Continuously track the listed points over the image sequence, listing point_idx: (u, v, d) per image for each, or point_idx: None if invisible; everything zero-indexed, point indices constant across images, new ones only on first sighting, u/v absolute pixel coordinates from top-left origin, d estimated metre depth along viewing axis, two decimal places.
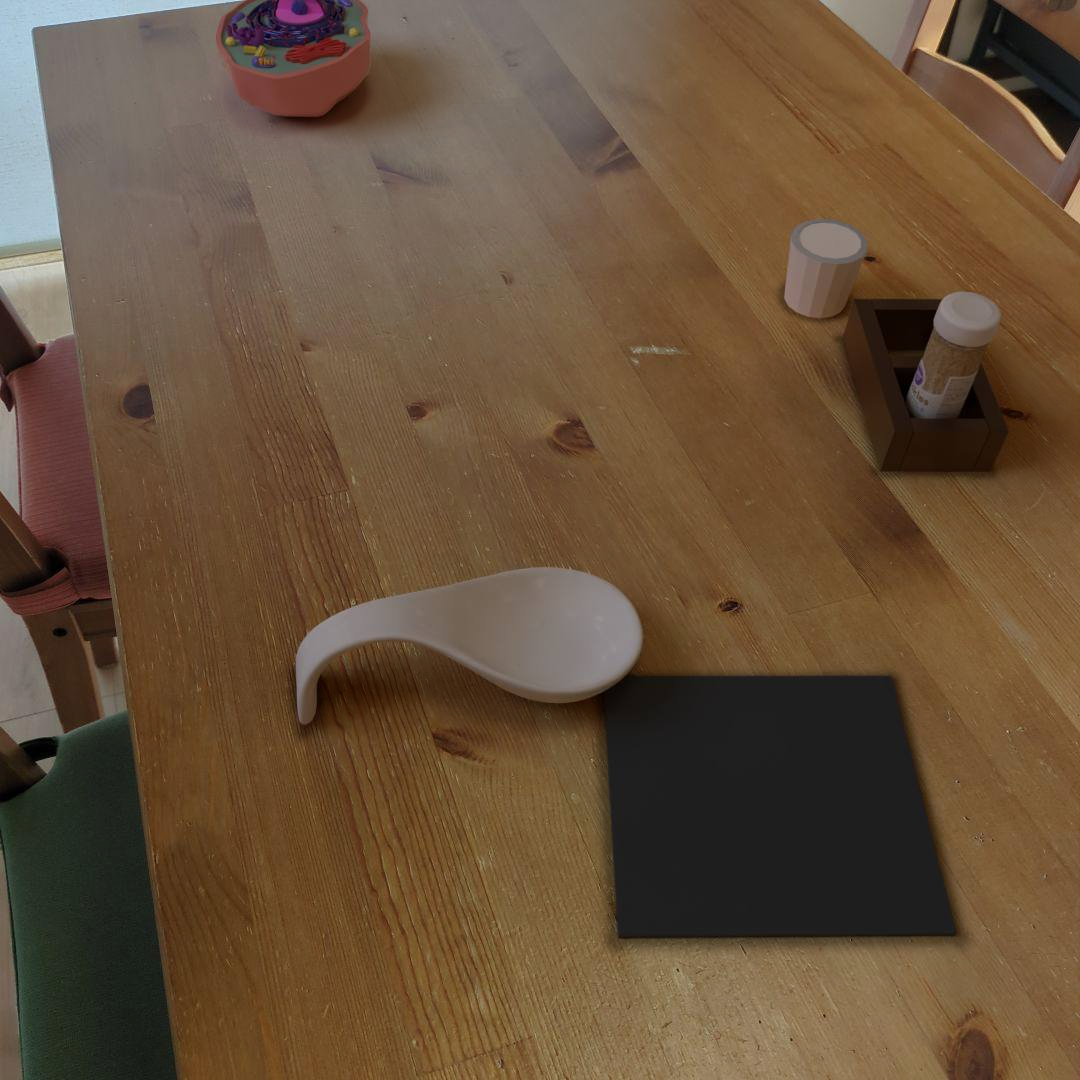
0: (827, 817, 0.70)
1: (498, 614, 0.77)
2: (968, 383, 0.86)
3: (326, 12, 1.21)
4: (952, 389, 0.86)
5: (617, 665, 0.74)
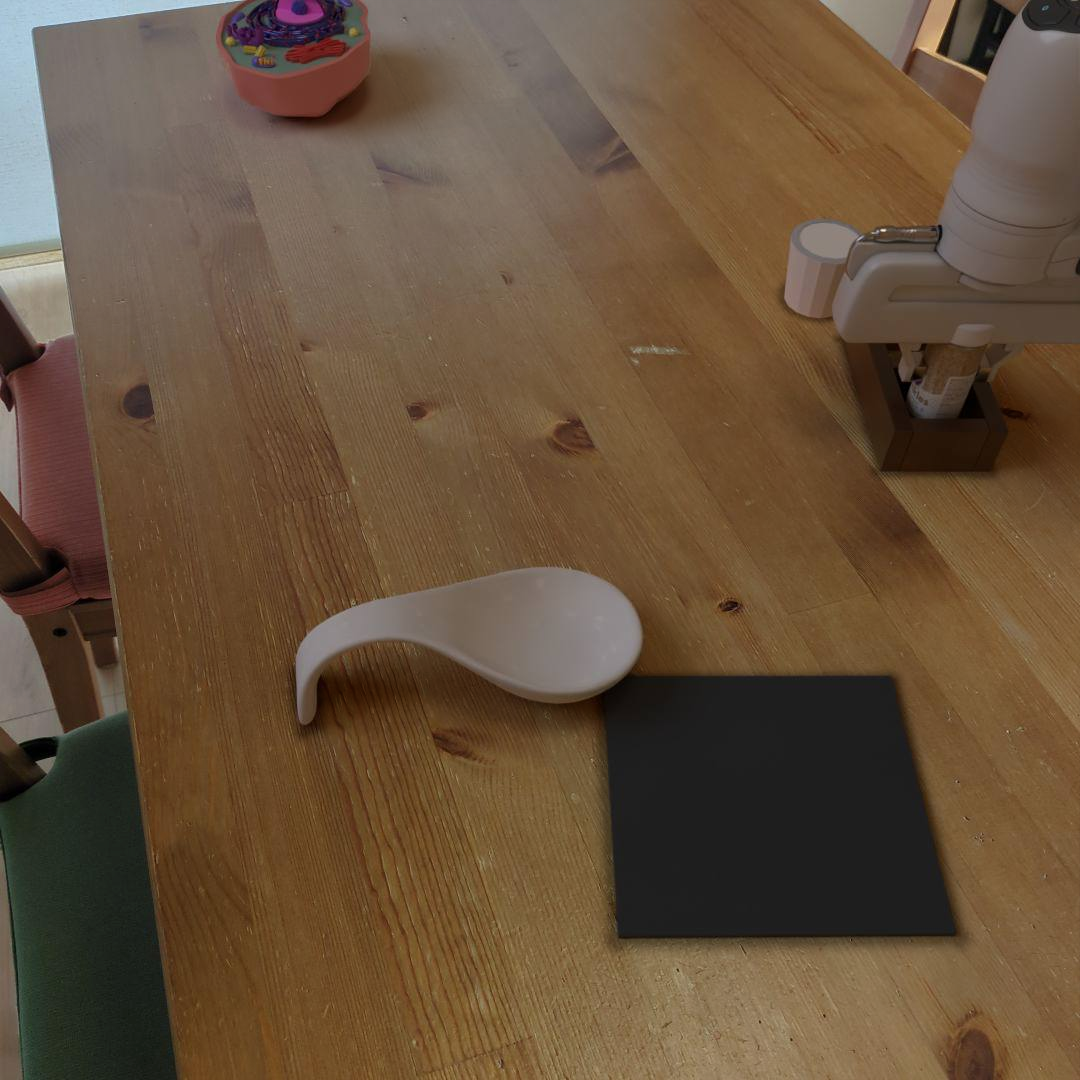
0: (827, 817, 0.70)
1: (498, 614, 0.77)
2: (968, 383, 0.86)
3: (326, 12, 1.21)
4: (952, 389, 0.86)
5: (617, 665, 0.74)
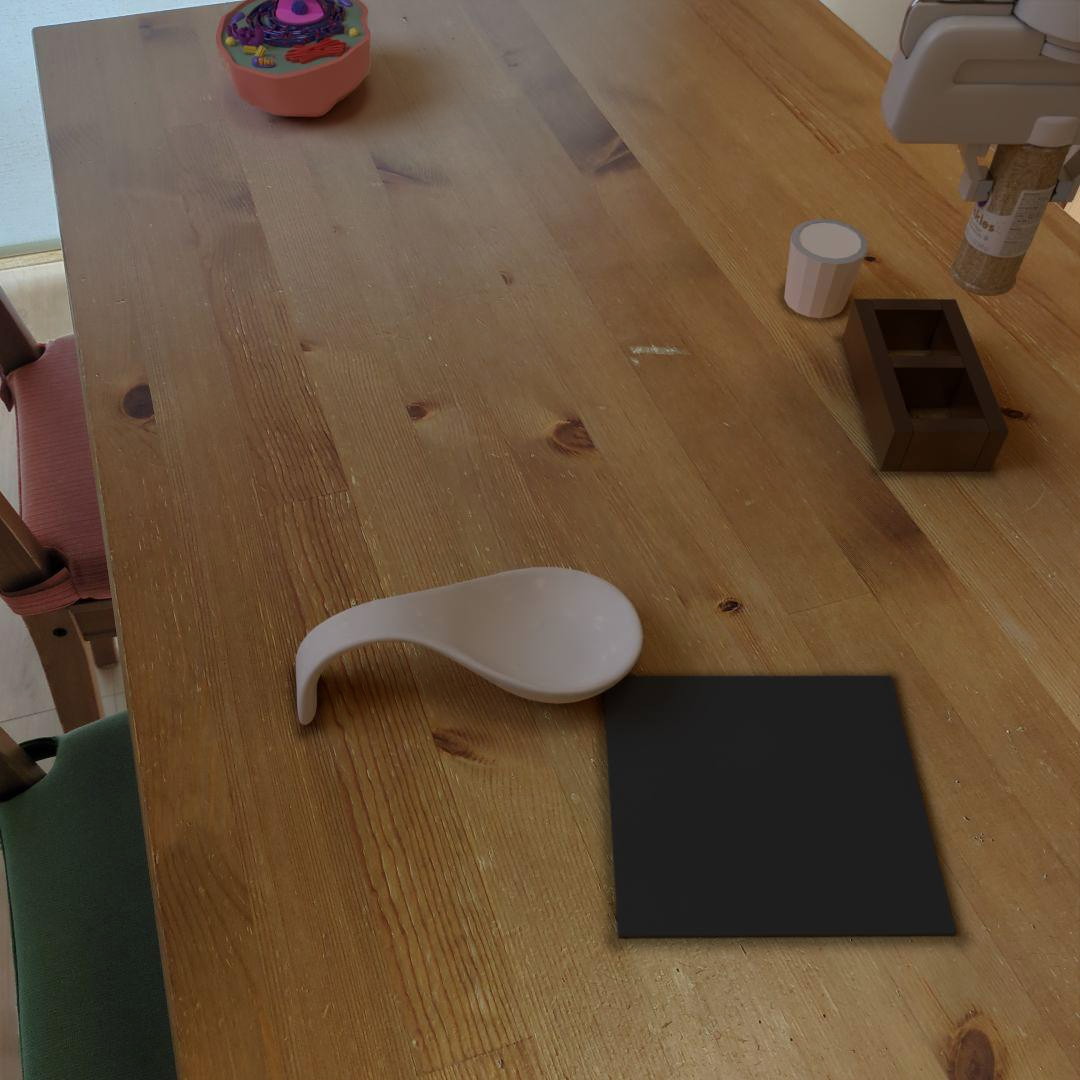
0: (827, 817, 0.70)
1: (498, 614, 0.77)
2: (1044, 200, 0.71)
3: (326, 12, 1.21)
4: (1025, 207, 0.71)
5: (617, 665, 0.74)
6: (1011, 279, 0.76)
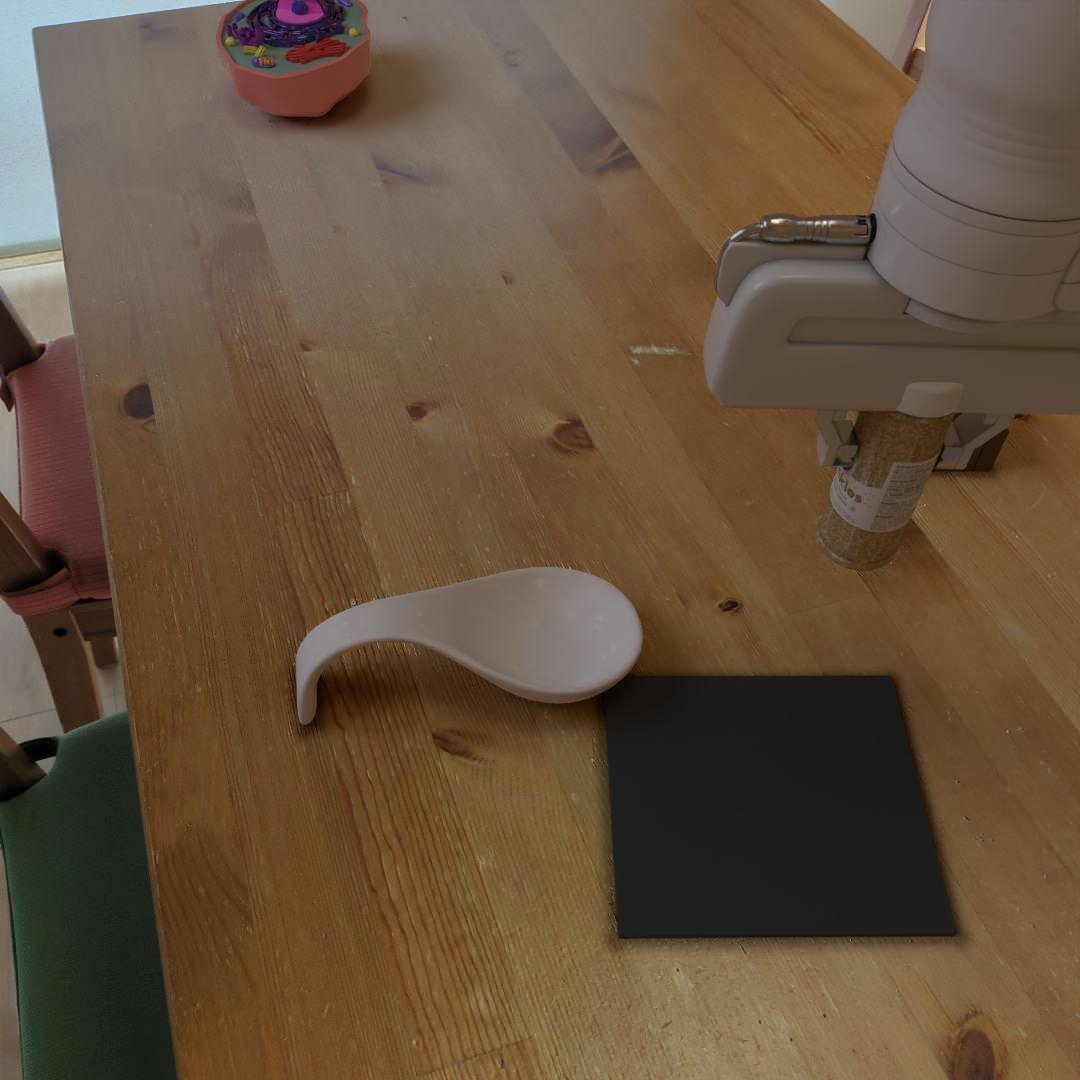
0: (827, 817, 0.70)
1: (498, 614, 0.77)
2: (924, 471, 0.54)
3: (326, 12, 1.21)
4: (899, 480, 0.54)
5: (617, 665, 0.74)
6: (890, 551, 0.59)
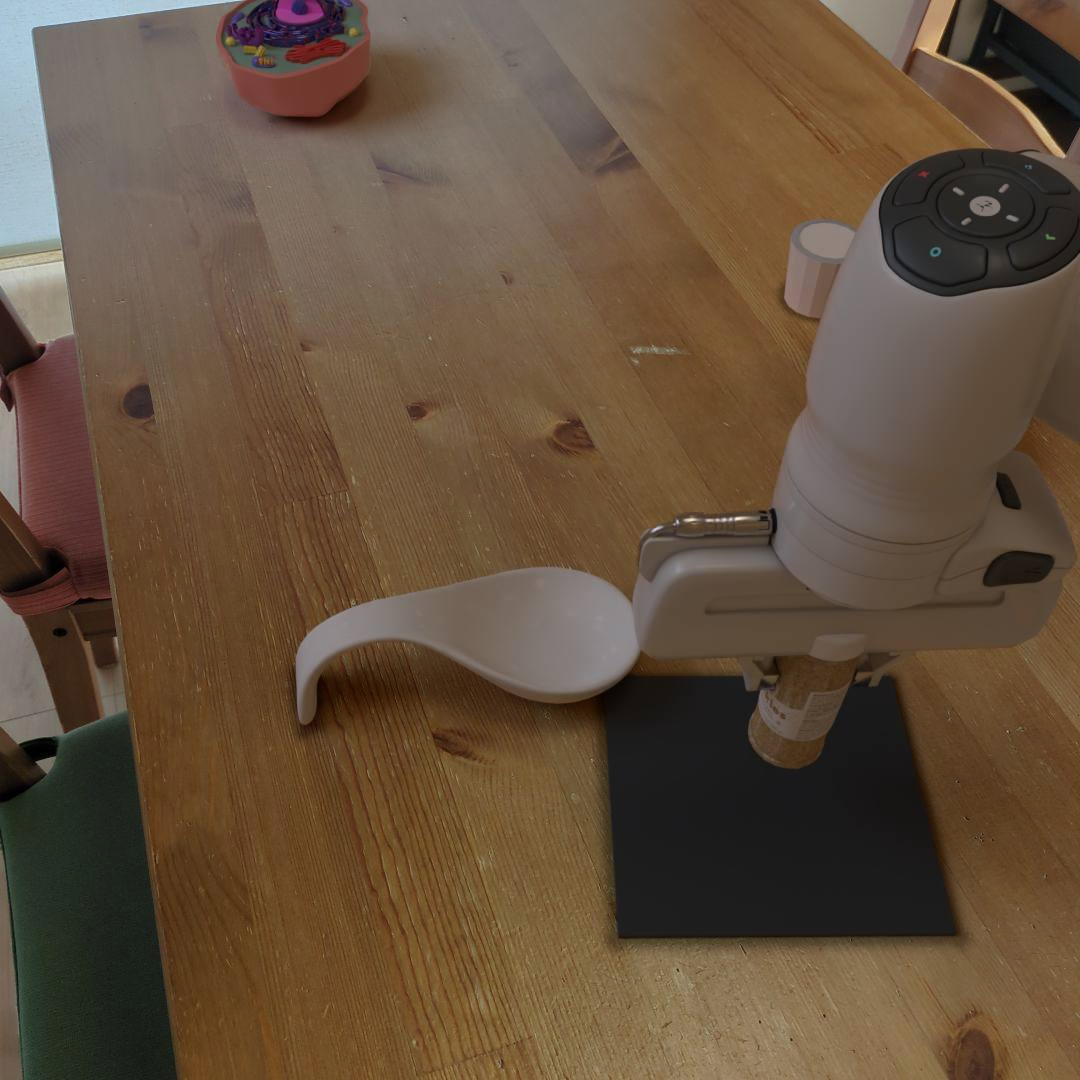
0: (827, 817, 0.70)
1: (498, 614, 0.77)
2: (840, 695, 0.59)
3: (326, 12, 1.21)
4: (817, 704, 0.59)
5: (617, 665, 0.74)
6: (816, 751, 0.64)
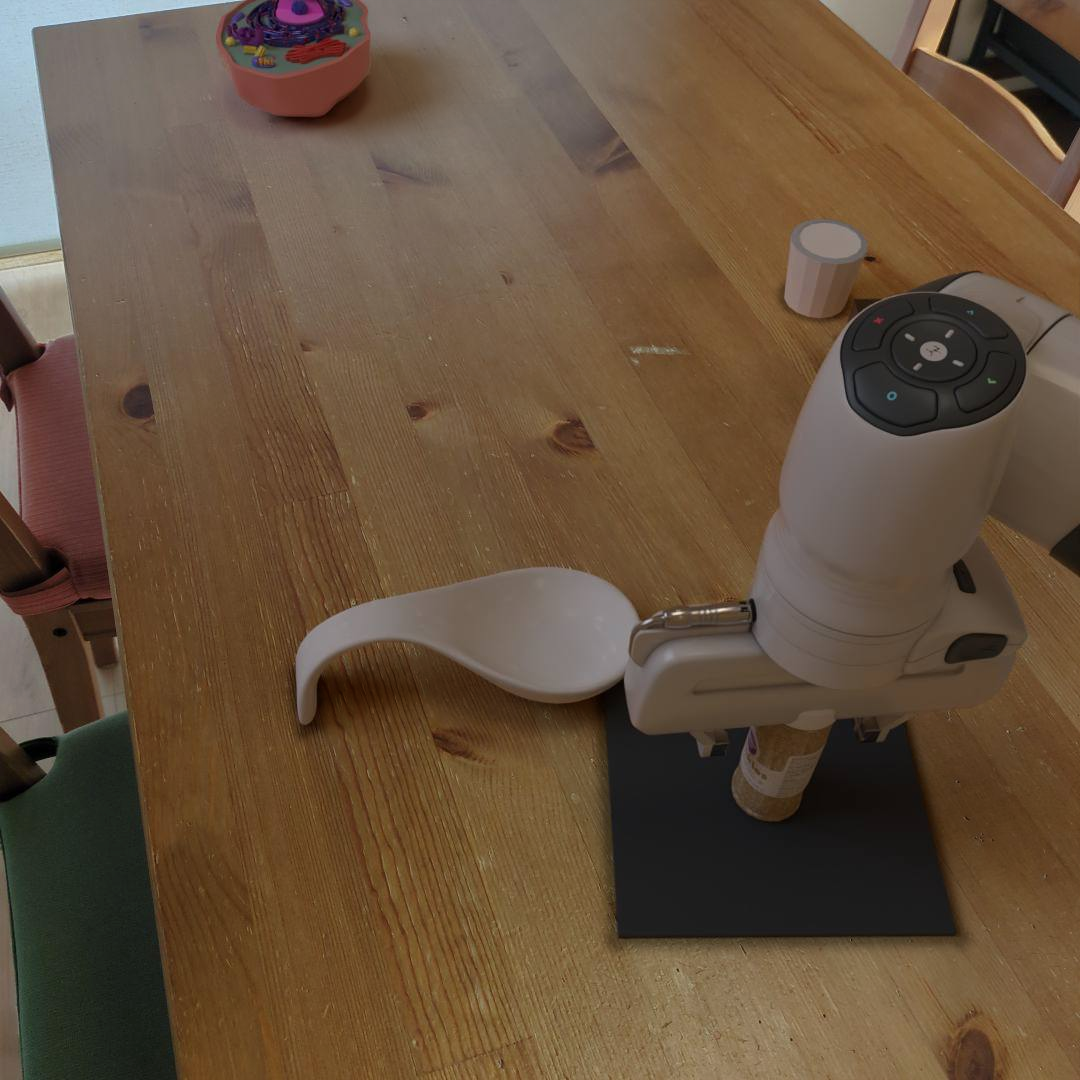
0: (827, 817, 0.70)
1: (498, 614, 0.77)
2: (816, 757, 0.64)
3: (326, 12, 1.21)
4: (795, 766, 0.64)
5: (617, 665, 0.74)
6: (795, 805, 0.69)
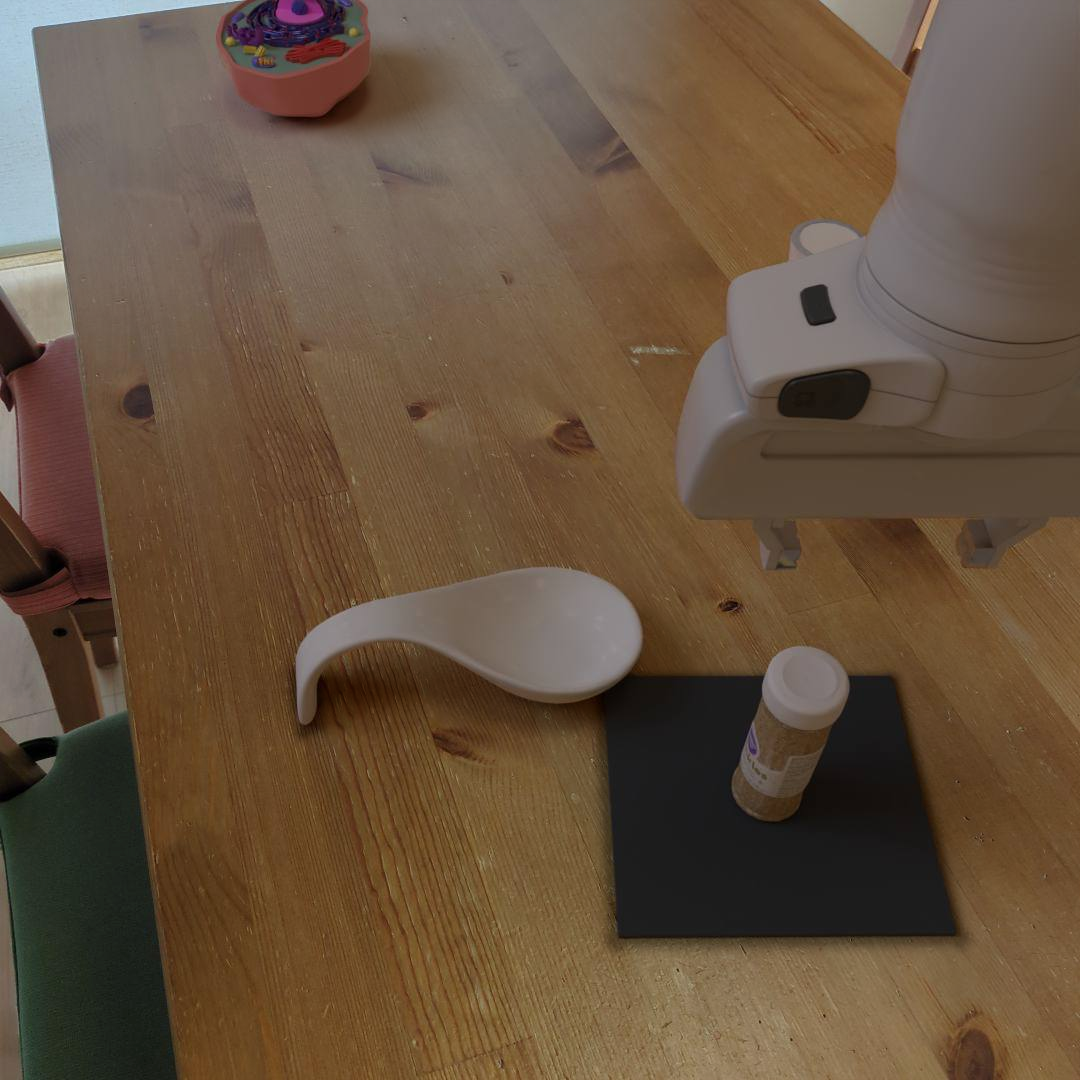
0: (827, 817, 0.70)
1: (498, 614, 0.77)
2: (816, 757, 0.64)
3: (326, 12, 1.21)
4: (795, 766, 0.64)
5: (617, 665, 0.74)
6: (795, 805, 0.69)
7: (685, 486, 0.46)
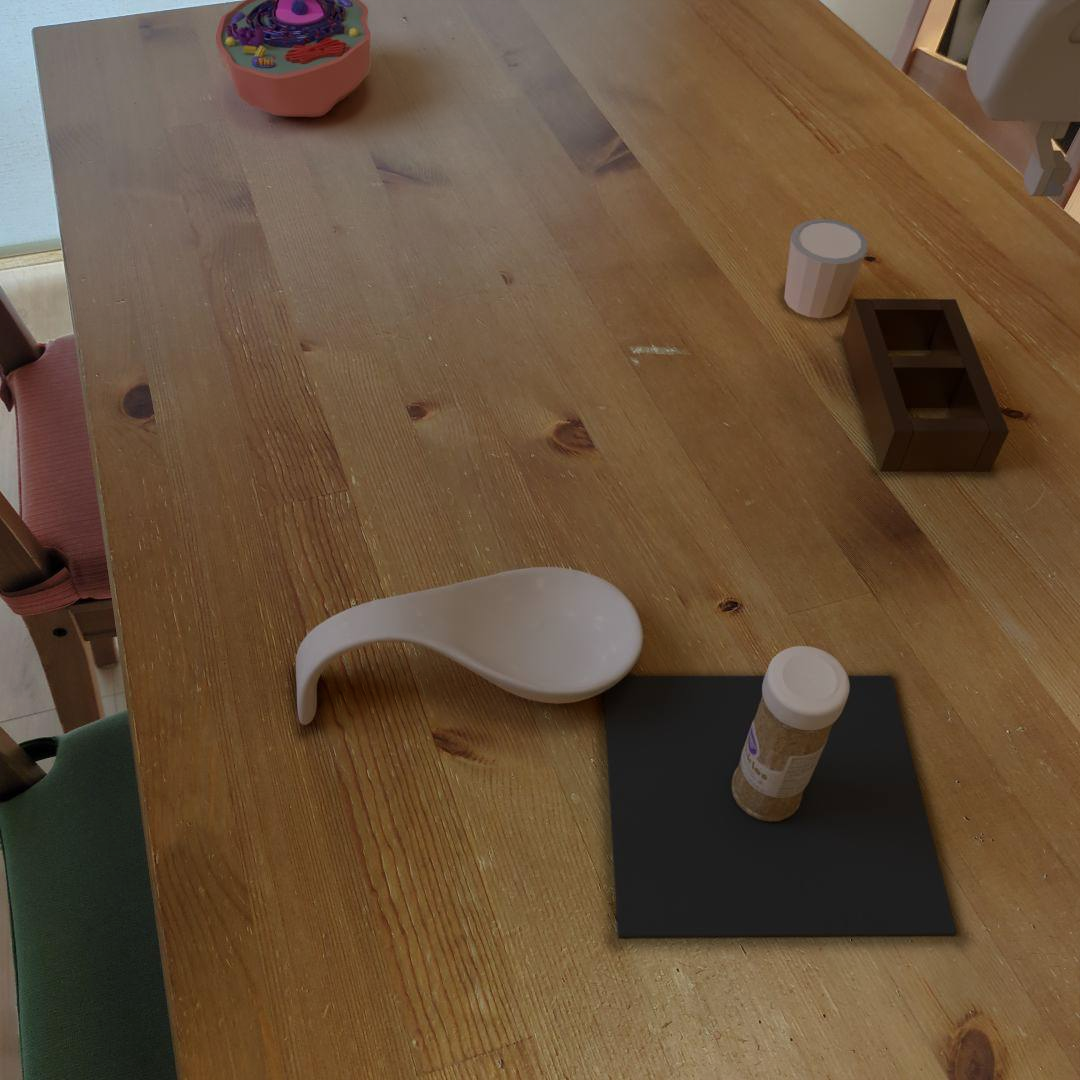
0: (827, 817, 0.70)
1: (498, 614, 0.77)
2: (816, 757, 0.64)
3: (326, 12, 1.21)
4: (795, 766, 0.64)
5: (617, 665, 0.74)
6: (795, 805, 0.69)
7: (992, 77, 0.52)
